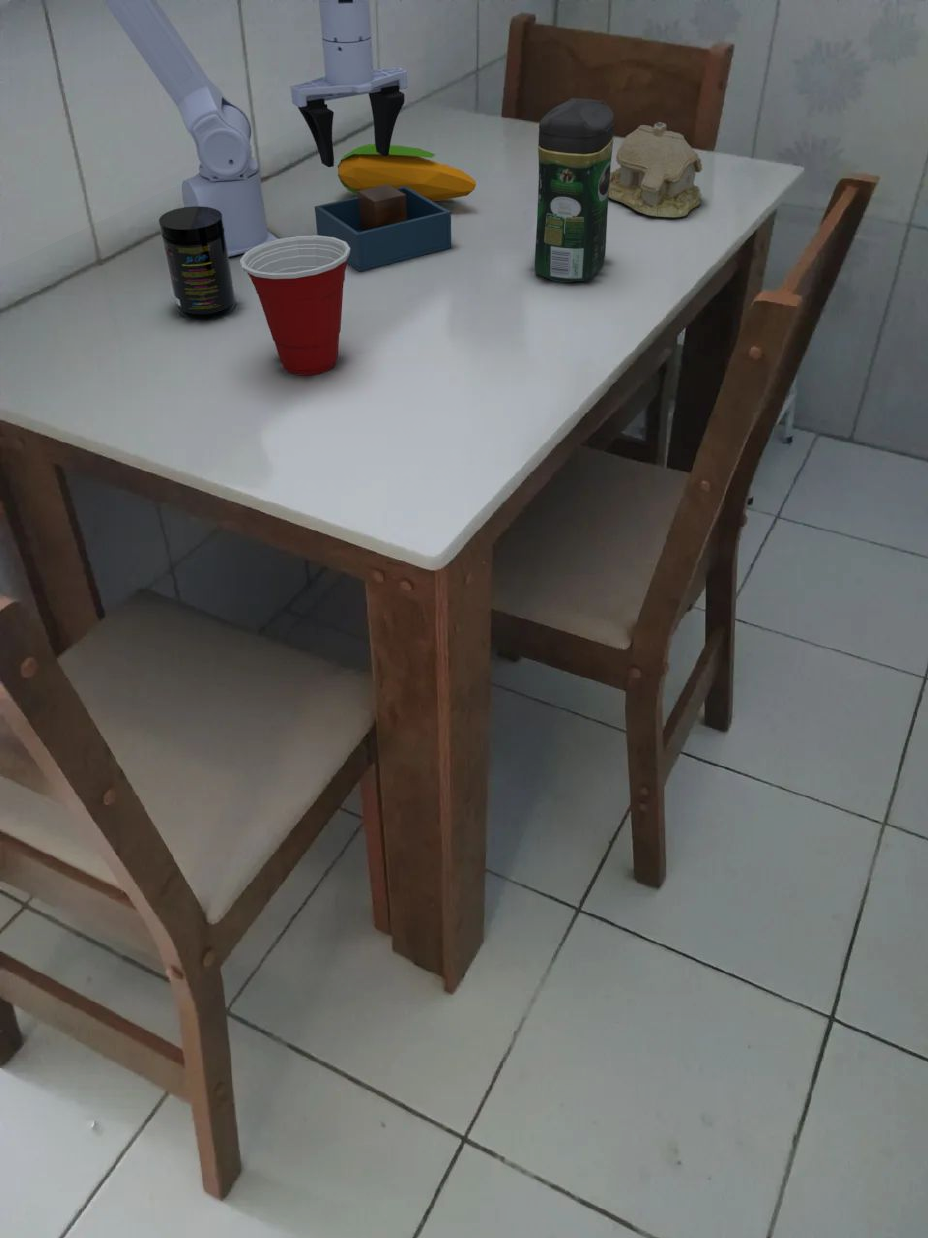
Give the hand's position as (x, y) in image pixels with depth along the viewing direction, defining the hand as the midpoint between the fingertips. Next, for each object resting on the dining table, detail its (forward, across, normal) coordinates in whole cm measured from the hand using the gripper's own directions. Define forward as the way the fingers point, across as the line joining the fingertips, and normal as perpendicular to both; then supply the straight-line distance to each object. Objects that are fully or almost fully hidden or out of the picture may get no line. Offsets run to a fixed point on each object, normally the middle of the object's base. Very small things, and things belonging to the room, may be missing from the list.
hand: (355, 158), depth 132 cm
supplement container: (+10, -25, -10) cm, 29 cm away
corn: (+10, +11, +6) cm, 16 cm away
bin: (+9, +1, -5) cm, 10 cm away
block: (+9, +1, -5) cm, 10 cm away
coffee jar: (+10, +16, -24) cm, 30 cm away
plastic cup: (+10, -21, -28) cm, 36 cm away
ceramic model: (+9, +39, -12) cm, 42 cm away
